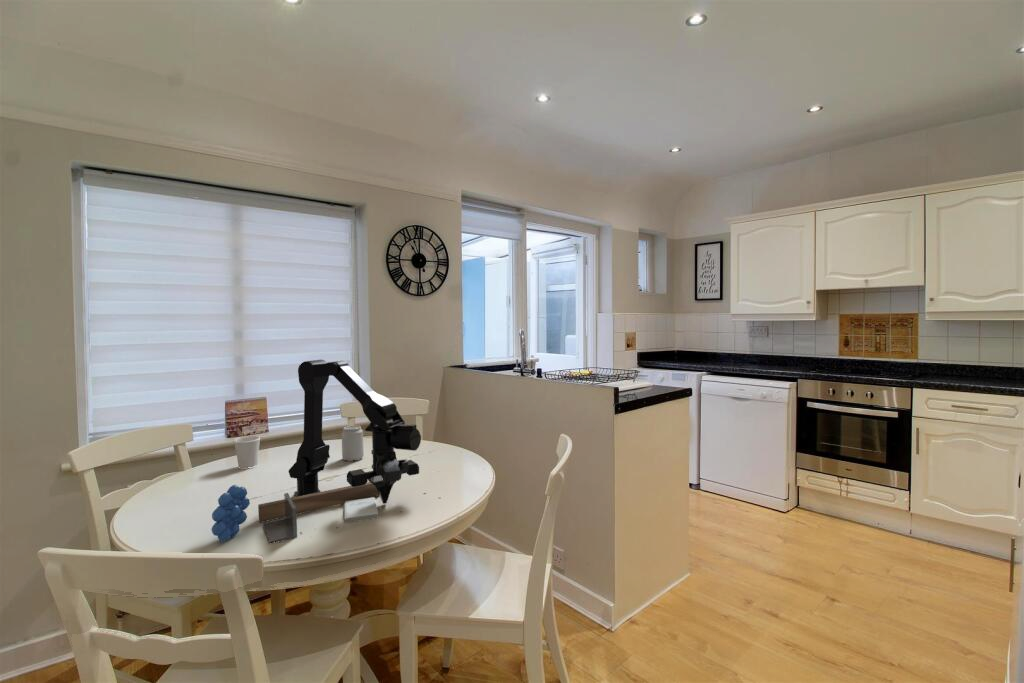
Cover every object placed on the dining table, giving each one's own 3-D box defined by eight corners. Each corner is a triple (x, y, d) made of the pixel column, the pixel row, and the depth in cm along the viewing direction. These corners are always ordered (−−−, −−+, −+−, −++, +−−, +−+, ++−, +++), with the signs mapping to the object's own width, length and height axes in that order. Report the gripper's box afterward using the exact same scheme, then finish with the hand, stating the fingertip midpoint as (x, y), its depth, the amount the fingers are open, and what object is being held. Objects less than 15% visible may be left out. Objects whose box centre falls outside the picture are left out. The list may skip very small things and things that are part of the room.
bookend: (263, 525, 118) (262, 497, 118) (288, 519, 121) (287, 492, 121) (269, 543, 108) (268, 513, 108) (297, 537, 111) (296, 507, 111)
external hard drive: (344, 524, 119) (344, 506, 130) (378, 519, 122) (375, 502, 133) (344, 518, 119) (344, 500, 130) (378, 513, 121) (375, 496, 133)
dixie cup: (263, 462, 172) (262, 435, 172) (259, 468, 164) (258, 440, 164) (237, 464, 169) (235, 437, 169) (232, 471, 161) (231, 442, 161)
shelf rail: (258, 519, 121) (258, 504, 121) (377, 493, 139) (377, 480, 138) (259, 522, 120) (259, 507, 119) (379, 495, 137) (379, 482, 137)
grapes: (232, 525, 118) (230, 478, 118) (257, 526, 117) (255, 478, 117) (196, 547, 106) (194, 495, 106) (224, 548, 106) (222, 496, 105)
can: (338, 460, 173) (337, 427, 173) (355, 455, 180) (354, 423, 179) (350, 463, 169) (349, 430, 169) (368, 458, 175) (367, 426, 175)
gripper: (357, 460, 118) (359, 521, 118) (426, 448, 128) (427, 504, 129) (345, 450, 127) (346, 507, 127) (411, 440, 137) (412, 492, 138)
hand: (384, 503), depth 130 cm, fingers closed
